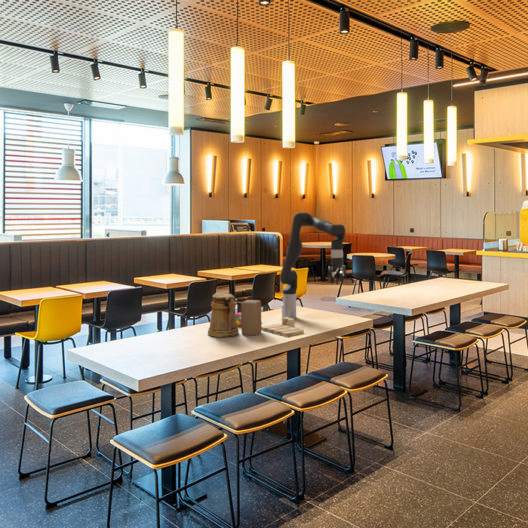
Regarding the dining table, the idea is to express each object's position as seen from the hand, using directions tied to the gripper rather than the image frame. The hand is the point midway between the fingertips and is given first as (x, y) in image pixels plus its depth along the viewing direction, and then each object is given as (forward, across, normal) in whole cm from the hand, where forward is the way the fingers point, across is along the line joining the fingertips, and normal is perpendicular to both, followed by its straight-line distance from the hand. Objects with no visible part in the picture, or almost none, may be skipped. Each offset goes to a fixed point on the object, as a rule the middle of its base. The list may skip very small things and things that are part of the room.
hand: (337, 282), depth 335 cm
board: (+29, +31, -17) cm, 46 cm away
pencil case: (+30, +33, -51) cm, 68 cm away
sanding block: (+29, +19, -25) cm, 43 cm away
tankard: (+30, +62, -34) cm, 77 cm away
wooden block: (+29, +48, -26) cm, 62 cm away
